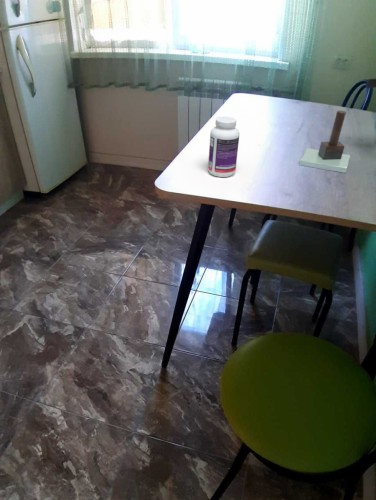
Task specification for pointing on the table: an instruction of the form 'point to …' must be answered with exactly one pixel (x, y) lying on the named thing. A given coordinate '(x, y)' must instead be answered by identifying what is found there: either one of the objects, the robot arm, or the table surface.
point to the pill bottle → (223, 147)
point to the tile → (324, 161)
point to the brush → (333, 140)
